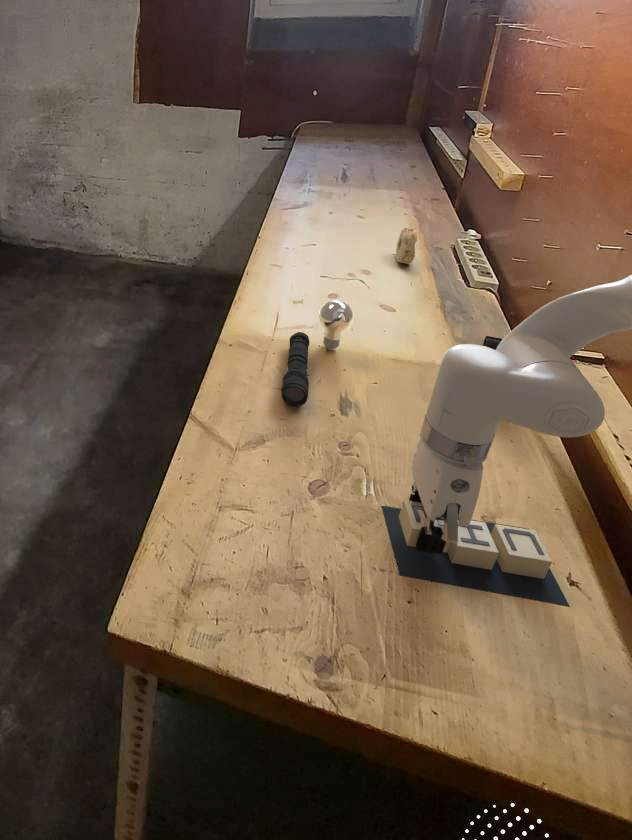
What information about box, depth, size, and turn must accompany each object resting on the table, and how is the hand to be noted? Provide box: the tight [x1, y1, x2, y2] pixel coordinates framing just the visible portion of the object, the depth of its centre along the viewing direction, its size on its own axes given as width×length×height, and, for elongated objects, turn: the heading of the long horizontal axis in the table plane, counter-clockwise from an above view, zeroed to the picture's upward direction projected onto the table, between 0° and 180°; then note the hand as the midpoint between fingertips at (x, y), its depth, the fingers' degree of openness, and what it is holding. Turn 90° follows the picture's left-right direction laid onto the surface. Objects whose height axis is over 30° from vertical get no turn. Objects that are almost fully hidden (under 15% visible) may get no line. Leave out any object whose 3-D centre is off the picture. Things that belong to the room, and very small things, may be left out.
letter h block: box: [447, 519, 499, 570], centre depth 79 cm, size 5×5×4 cm
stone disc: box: [395, 227, 418, 265], centre depth 162 cm, size 10×4×10 cm, turn 161°
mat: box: [380, 505, 570, 608], centre depth 79 cm, size 20×12×1 cm, turn 76°
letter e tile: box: [399, 499, 450, 552], centre depth 79 cm, size 5×5×4 cm
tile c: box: [491, 523, 553, 579], centre depth 77 cm, size 5×5×4 cm
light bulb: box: [318, 299, 355, 351], centre depth 123 cm, size 7×7×12 cm
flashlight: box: [280, 331, 311, 407], centre depth 116 cm, size 5×21×5 cm, turn 159°
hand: (422, 532), depth 80 cm, fingers closed on letter e tile, 5 cm apart
